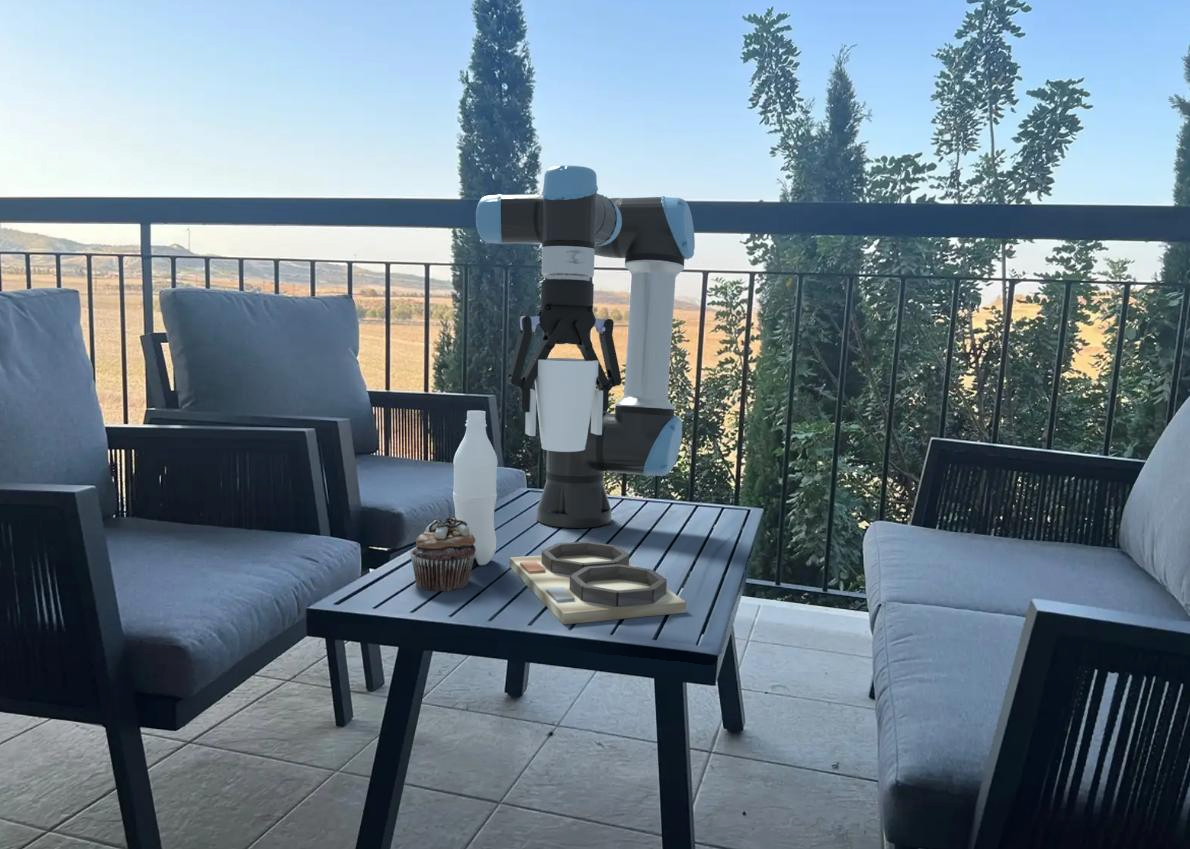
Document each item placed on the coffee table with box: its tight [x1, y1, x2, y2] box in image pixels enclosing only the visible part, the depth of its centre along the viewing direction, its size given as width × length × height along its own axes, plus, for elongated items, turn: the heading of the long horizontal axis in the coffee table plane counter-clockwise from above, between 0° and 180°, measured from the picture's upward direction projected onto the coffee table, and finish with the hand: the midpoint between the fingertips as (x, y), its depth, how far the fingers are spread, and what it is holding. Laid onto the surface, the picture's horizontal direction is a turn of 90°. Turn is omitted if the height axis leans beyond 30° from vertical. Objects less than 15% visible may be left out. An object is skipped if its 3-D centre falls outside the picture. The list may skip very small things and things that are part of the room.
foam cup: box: [534, 357, 600, 452], centre depth 124 cm, size 10×9×13 cm
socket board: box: [509, 541, 687, 625], centre depth 129 cm, size 28×18×4 cm, turn 20°
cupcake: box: [410, 515, 476, 592], centre depth 128 cm, size 10×10×10 cm
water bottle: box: [452, 410, 499, 566], centre depth 139 cm, size 7×7×25 cm
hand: (563, 434), depth 124 cm, fingers closed on foam cup, 9 cm apart
